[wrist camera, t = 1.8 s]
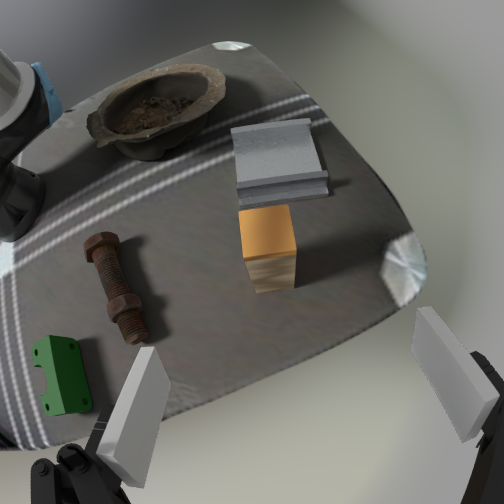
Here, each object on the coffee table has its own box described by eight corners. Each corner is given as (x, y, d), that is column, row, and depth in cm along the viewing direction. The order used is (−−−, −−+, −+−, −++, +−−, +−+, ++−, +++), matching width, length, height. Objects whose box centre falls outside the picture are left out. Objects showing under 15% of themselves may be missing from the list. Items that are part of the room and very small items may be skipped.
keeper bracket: (241, 208, 42) (237, 195, 38) (233, 140, 47) (230, 125, 43) (327, 197, 41) (330, 182, 38) (307, 130, 46) (308, 115, 43)
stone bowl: (117, 202, 44) (87, 166, 36) (105, 124, 56) (85, 94, 48) (258, 134, 46) (248, 87, 38) (208, 74, 57) (197, 40, 49)
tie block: (256, 293, 37) (243, 257, 26) (252, 259, 39) (238, 211, 28) (293, 288, 37) (296, 249, 26) (288, 254, 38) (288, 204, 27)
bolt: (146, 345, 38) (108, 255, 43) (166, 328, 36) (124, 233, 41) (110, 352, 33) (76, 253, 38) (129, 334, 31) (90, 229, 36)
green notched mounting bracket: (75, 361, 40) (33, 336, 34) (95, 352, 39) (51, 324, 33) (70, 426, 32) (20, 406, 26) (92, 423, 31) (38, 401, 25)
